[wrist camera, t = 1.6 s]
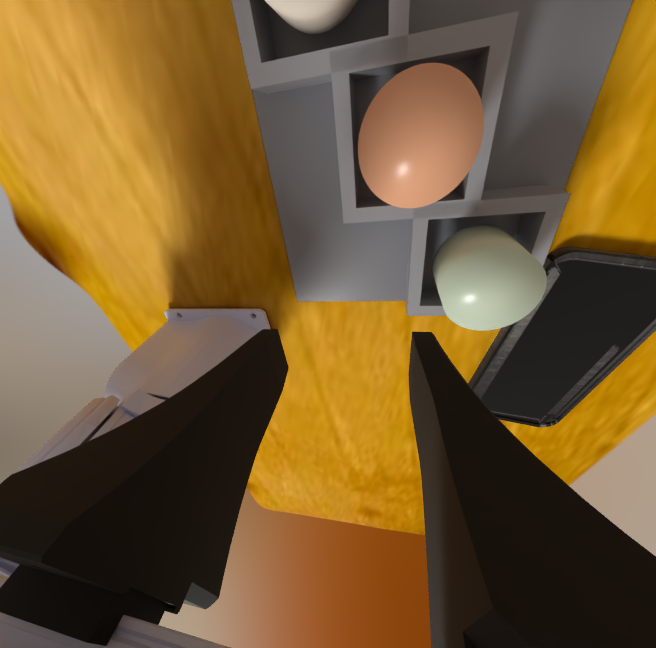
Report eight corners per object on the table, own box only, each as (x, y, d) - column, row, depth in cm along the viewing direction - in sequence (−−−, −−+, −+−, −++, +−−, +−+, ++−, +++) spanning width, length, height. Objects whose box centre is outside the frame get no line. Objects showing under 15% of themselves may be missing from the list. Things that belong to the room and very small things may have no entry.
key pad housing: (299, 297, 20) (289, 317, 18) (207, -139, 10) (158, -211, 8) (520, 295, 17) (539, 319, 15) (753, -368, 6) (927, -602, 4)
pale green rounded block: (428, 296, 16) (436, 329, 13) (437, 227, 13) (448, 251, 11) (504, 295, 15) (528, 331, 12) (526, 221, 12) (563, 247, 10)
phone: (457, 411, 24) (558, 249, 14) (454, 400, 24) (548, 242, 15) (552, 429, 23) (723, 270, 14) (546, 418, 24) (702, 261, 14)
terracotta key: (366, 195, 13) (360, 212, 10) (362, 88, 11) (354, 76, 8) (453, 187, 12) (470, 203, 10) (470, 69, 10) (498, 49, 7)
